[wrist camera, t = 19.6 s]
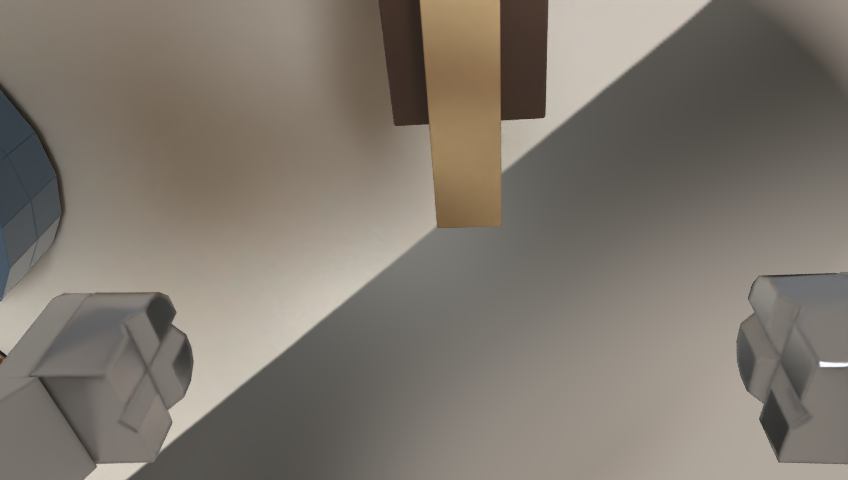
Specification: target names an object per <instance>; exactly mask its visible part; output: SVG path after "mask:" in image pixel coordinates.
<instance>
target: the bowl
mask: <svg viewBox="0 0 848 480" xmlns="http://www.w3.org/2000/svg"><path fill="white" fill-rule="evenodd" d="M60 217H61V205H60V198H59V190H58V183H57V176H56V173H55V171H54V169H53V167H52V165H51V163H50V160H49V158H48V156H47V154H46V152H45V150H44V148H43V146H42V144H41V142H40V140H39V138H38V136H37V134H36V133H35V131H34V130H33V128H32V127H31V126H30V125H29V124H28V122H27V121H26V120H25V119H24V118H23V116H22V115H21V114H20V113H19V112H18V110H17V109H16V108H15V107H14V106H13V104H12V103H11V102H10V101H9V100H8V98H7V97H6V96H5V95H4V94H3V93H2V91H1V90H0V302H1V301H2V300H3V298H4V297H5V296H6V295H7V294H8V293H9V292H10V291H11V290H12V288H13V287H14V286H15V285H16V284H17V283H18V282H19V281H20V279H21V278H22V277H23V276H24V275H25V274H26V273H27V272H28V271H29V269H30V268H31V267H32V266H33V265H34V264H35V263H36V262H37V261H38V259H39V258H40V257H41V256H42V255H43V254H44V253H45V252H46V251H47V249H48V248H49V247H50V246H51V245H52V243H53V240H54V237H55V233H56V230H57V227H58V224H59V220H60Z"/></svg>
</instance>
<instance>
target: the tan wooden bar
mask: <svg viewBox="0 0 848 480" xmlns="http://www.w3.org/2000/svg"><path fill="white" fill-rule="evenodd" d="M420 12H421V25H422V38H423V51H424V64H425V77H426V90H427V103H428V116H429V129H430V142H431V154H432V167H433V180H434V193H435V206H436V219H437V227H438V228H461V227H498V226H499V227H500V226H501V64H500V0H420Z"/></svg>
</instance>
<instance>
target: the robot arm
mask: <svg viewBox="0 0 848 480" xmlns="http://www.w3.org/2000/svg"><path fill="white" fill-rule="evenodd" d="M748 300H749V302H750V304H751V306H752V308H753V310H754V313H753V314H752V315H750V316H749V317H748V318H747V319H745V320H744V321H743V322H742V323H741V325H740V329H739V333H738V337H737V363H738V367H739V371H740V375H741V378H742V380H743V383H744V385H745V388H746V390H747V391H748V392H749V393H750V394H751V395H753V396H754V397H756V398H757V399H758V400H760V401H761V402H762V403H764V406H763V409H762V412H761V415H760V418H759V420H760V422H761V424H762V426H763V429H764V431H765V433H766V435H767V438H768V440H769V442H770V444H771V447H772V449H773V451H774V453H775V455H776V458H777V460H778V462H782V463H783V462H784V463H822V464H848V272H841V273H839V274H837V273H826V274H796V275H768V276H758V277H757V279H756V280H755V281H754V282H753V284H752V286H751V290H750V293H749V296H748ZM176 313H177V312H176V310H175V308H174V306H173V304H172V302H171V300H170V298H169V296H168V295H165V294H162V293H159V292H128V293H94V294H93V293H64V294H62V295H59V296H57V297H55V298H53V299H52V300H51V301H50V303H49V304H48V305H47V306H46V308H45V309H44V310H43V311H42V313H41V314H40V315H39V316H38V318H37V319H36V320H35V321H34V323H33V324H32V325H31V326H30V328H29V329H28V330H27V332H26V333H25V334H24V335H23V337H22V338H21V339H20V340H19V342H18V343H17V344H16V345H15V347H14V348H13V349H12V350H11V352H10V353H9V354H8V355H7V357H6V358H5V359H4V361H3V362H2V363H1V364H0V480H84V479H85V478H86V477H87V476H88V475H89V474H90V473H91V472H92V471H93V470H94V469H95V468H96V467H97V466H96V464H106V463H141V462H155V459H156V457H157V455H158V453H159V451H160V449H161V446H162V444H163V442H164V440H165V438H166V436H167V433H168V431H169V429H170V427H171V425H172V423H173V422H172V419H171V417H170V414H169V411H168V410H169V409H170V408H171V407H172V406H174V405H175V404H176V403H177V402H179V401H180V400H181V399H182V398H184V396H185V394H186V391H187V389H188V387H189V384H190V382H191V377H192V369H193V355H192V349H191V345H190V343H189V340H188V338H187V335H186V334H185V333H183V332H182V331H180V330H179V329H178V328H176V327H175V326H174V325H172V324H171V323H172V321H173V319H174V317H175V315H176Z"/></svg>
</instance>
